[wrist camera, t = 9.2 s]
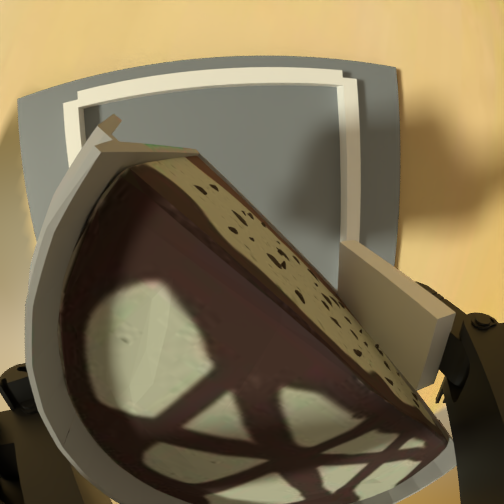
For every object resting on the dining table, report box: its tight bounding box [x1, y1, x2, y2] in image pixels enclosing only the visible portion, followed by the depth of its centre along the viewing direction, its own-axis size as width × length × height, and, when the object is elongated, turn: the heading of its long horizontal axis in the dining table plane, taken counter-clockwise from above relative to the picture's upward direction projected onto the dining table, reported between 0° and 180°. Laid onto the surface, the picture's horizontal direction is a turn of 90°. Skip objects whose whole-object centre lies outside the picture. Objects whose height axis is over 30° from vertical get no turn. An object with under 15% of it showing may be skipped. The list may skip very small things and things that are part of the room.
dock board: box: [18, 56, 400, 290], centre depth 20 cm, size 26×22×2 cm
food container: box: [25, 114, 457, 504], centre depth 9 cm, size 12×6×10 cm, turn 43°
